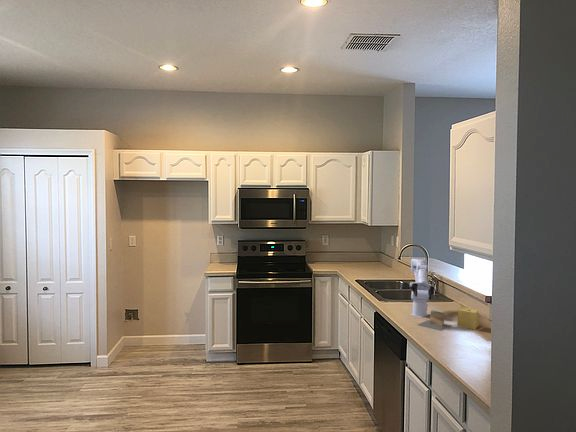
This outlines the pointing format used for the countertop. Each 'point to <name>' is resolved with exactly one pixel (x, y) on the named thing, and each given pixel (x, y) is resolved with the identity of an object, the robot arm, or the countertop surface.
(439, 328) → the mat
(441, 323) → the tile
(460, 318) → the cheese
